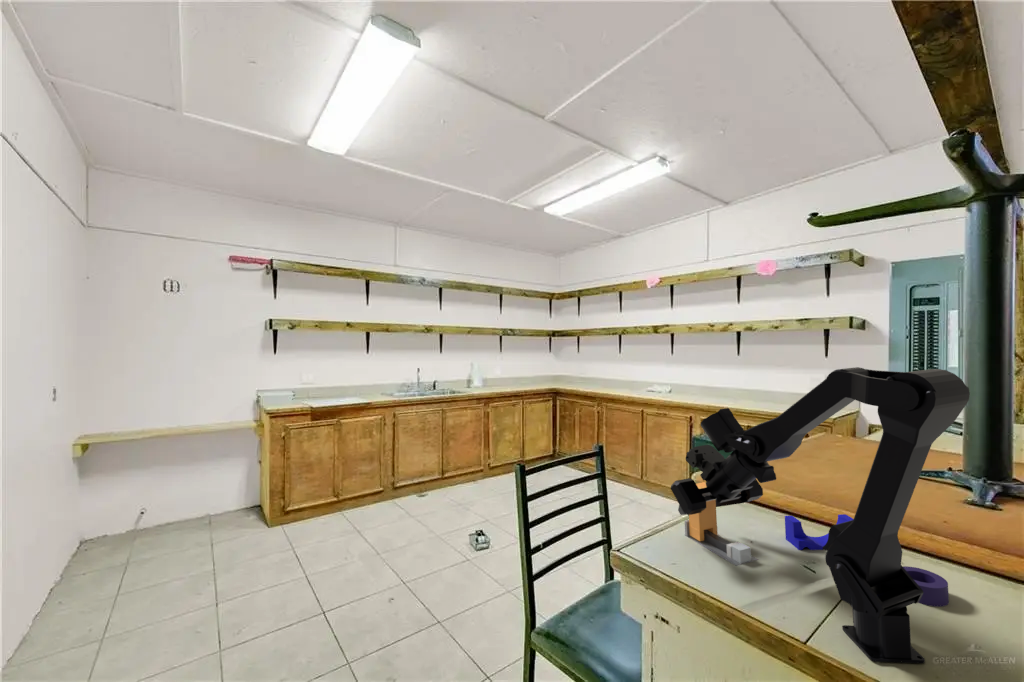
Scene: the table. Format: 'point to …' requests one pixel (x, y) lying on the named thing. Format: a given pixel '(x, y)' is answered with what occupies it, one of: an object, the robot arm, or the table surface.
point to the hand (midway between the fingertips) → (697, 508)
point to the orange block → (703, 519)
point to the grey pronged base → (724, 547)
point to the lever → (930, 586)
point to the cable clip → (801, 539)
